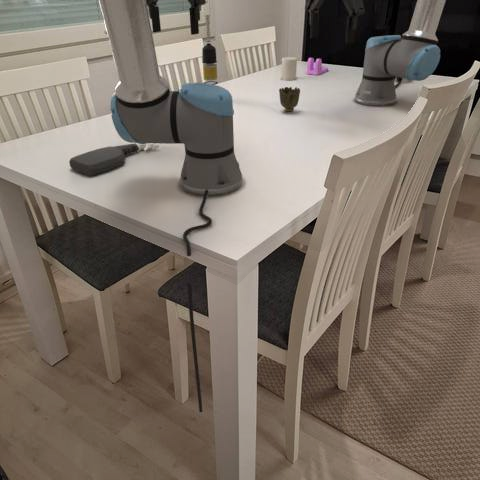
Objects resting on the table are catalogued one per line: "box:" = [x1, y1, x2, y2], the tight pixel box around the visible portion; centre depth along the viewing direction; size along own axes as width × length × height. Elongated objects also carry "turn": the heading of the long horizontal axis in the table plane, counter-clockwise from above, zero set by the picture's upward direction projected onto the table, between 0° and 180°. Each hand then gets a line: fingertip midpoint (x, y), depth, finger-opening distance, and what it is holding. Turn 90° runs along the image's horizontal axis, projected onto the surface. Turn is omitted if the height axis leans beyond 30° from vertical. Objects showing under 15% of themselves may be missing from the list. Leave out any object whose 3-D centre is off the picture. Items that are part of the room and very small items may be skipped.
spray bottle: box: [68, 143, 160, 177], centre depth 124 cm, size 3×11×24 cm
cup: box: [278, 86, 301, 114], centre depth 159 cm, size 8×7×8 cm
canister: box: [280, 56, 298, 81], centre depth 205 cm, size 7×7×9 cm
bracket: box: [306, 57, 329, 76], centre depth 216 cm, size 13×6×7 cm, turn 143°
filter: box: [201, 14, 219, 85], centre depth 171 cm, size 6×6×30 cm
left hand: (175, 33), depth 126 cm, fingers open, 13 cm apart
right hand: (330, 39), depth 130 cm, fingers open, 13 cm apart
